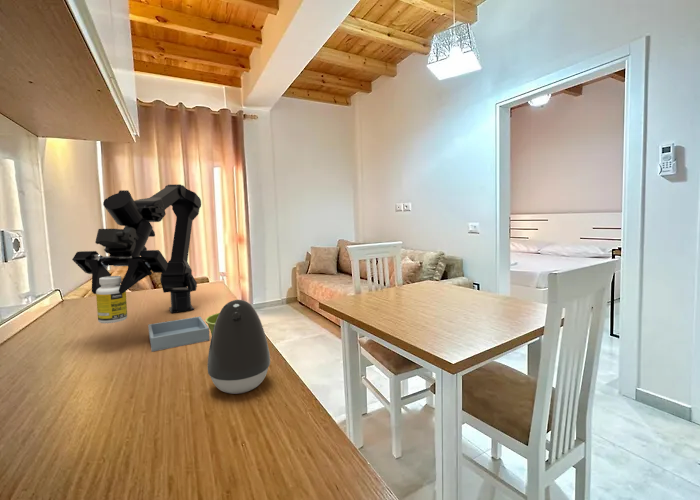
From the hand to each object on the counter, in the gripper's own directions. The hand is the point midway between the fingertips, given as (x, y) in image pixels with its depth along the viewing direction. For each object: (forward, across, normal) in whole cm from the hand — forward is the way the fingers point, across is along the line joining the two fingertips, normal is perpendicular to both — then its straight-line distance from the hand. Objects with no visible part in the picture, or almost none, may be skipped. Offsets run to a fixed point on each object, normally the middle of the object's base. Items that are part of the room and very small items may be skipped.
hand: (107, 292), depth 73 cm
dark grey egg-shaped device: (+22, +33, -4) cm, 40 cm away
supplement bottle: (+4, 0, +6) cm, 7 cm away
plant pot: (+13, +28, +6) cm, 31 cm away
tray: (+4, +11, +14) cm, 19 cm away
